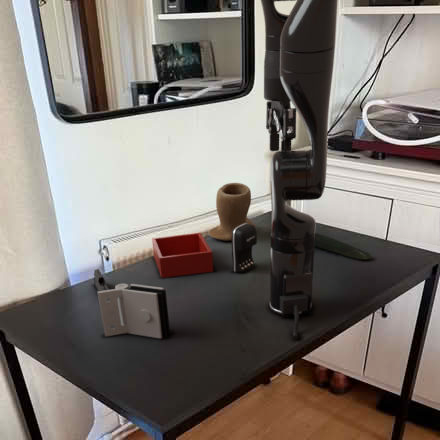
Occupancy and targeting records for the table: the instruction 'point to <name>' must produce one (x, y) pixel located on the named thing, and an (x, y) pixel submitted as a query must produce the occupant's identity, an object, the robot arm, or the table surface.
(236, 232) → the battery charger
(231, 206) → the stone cup
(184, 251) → the open red box
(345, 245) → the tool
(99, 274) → the lighting fixture
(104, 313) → the hinge
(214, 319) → the table surface
